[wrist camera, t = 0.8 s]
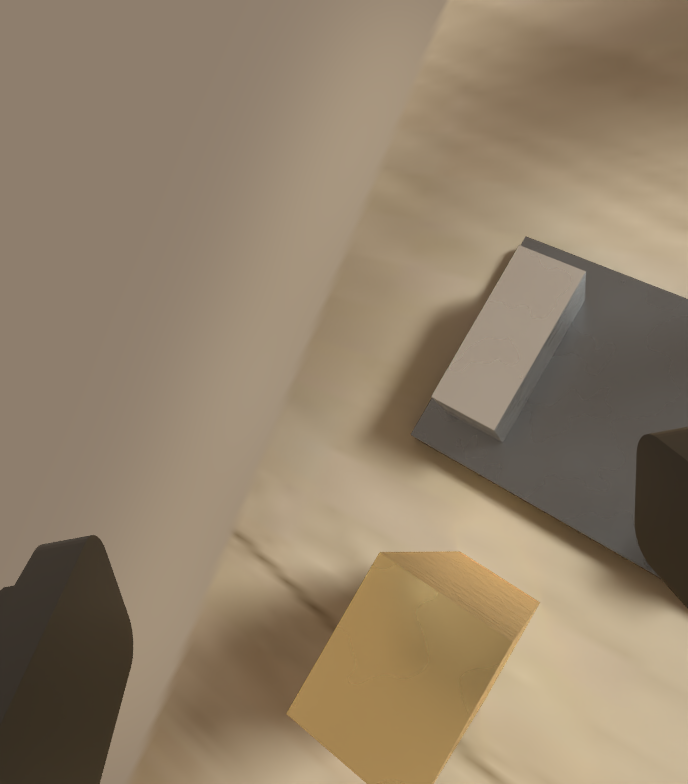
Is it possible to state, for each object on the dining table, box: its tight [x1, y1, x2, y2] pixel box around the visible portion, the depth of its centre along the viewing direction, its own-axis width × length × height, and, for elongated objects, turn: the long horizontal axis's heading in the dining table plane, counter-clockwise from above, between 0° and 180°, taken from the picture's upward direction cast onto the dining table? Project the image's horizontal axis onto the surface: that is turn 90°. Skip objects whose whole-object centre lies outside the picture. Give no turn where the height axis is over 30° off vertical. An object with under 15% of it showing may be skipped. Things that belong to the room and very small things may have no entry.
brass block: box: [286, 552, 540, 784], centre depth 22 cm, size 4×5×13 cm
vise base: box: [411, 237, 688, 578], centre depth 26 cm, size 16×11×4 cm, turn 57°
